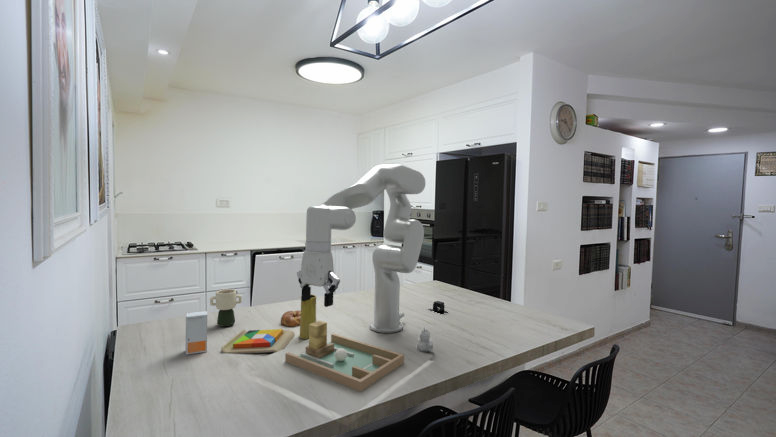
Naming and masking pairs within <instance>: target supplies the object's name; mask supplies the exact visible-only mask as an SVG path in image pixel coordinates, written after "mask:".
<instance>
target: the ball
mask: <svg viewBox="0 0 776 437" xmlns="http://www.w3.org/2000/svg"><path fill="white" fill-rule="evenodd" d="M335 358H336V360H338V361H344V360H345V359H346V358H347V352H346V350H345V349H343V348H340V349H338V350H337V351H336V352H335Z"/></svg>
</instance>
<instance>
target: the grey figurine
mask: <svg viewBox="0 0 776 437" xmlns="http://www.w3.org/2000/svg"><path fill="white" fill-rule="evenodd" d="M430 338H431V335H430V332H429V330H428V329H426V328H425V327H423V330H421V332H420V334H419V340H417V343H416V348H417V350H418V351H419V352H421V353H424V354H425V353H428V352H433V351H434V342H433V341H432V340H431V339H430Z"/></svg>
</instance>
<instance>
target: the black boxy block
mask: <svg viewBox="0 0 776 437" xmlns="http://www.w3.org/2000/svg"><path fill="white" fill-rule="evenodd" d="M432 308H433V309H431V308H429V309H428V310H430V311H429V312H432V311H434V312H433V313H435V312H437V313H436V314H438V313H440V314H439V315H441V314H444V313H448V312H449V311H448V312H447V310H445V302H443V301H440V300H436V301H433V303H432ZM428 310H427V311H428ZM448 314H449V313H448ZM444 315H445V314H444Z"/></svg>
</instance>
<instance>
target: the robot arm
mask: <svg viewBox="0 0 776 437" xmlns="http://www.w3.org/2000/svg"><path fill="white" fill-rule="evenodd" d="M425 187H426V178H425V176H424V175H423V174H422V173H421V172H420V171H419V170H416V169H413V168H411V167H408V166H406V165H403V164H400V163H393V164H392V163H391V164H379V165H376V166H374V167H373V168H372V169H370V170H369V171H368V172H367V173H366V174H364V175H363V176H362V177H361V178H360V179H359V180H358V181H357V182H356V183H355V184H352V185H351V186H348V187H347V188H344V189H343V190H340V191H339V192H336V193H334V194H333V195H330V197H328V198H327V199H326V200H324V202H322V203H321V204H320V205H319V206H316V205H314V206H313V205H312V206H309V207H308V208H307V209H306V219H305V220H306V221H305V222H306V225H305V243H304V245H305V250H304V251H303V254H302V258H301V264H300V265H301V267H300V270H299V271H297V272H296V276H297V279H298V283H299V285H300V288H301V296H302V299H301V298H300V301H301V300H302V301H306V300H310V297H311V295H312V294H311V293H312V292H311V290H312V287H311V286H314V287H321V288H322V287H323V289H324V291H325V293H324V296H323V299H324V300H323V304H324V305H323V306H324V307H325V308H328V307H331V306H333V305H334V293H335V292H336V290H337V289H338V288H339V285H340V282H341V279H340V278H339V277H338V276H337V275H336V274H335V272H334V270H335V269H334V257H333V252H332V230H336V231H346V230H350V229H351V228H352V227H354V225H355V223H356V220H357V217H356V214H355V211H354V210H353V209H357V208H363V207H365V206H368V205H370V204H372V203H373V202H374V201H375V200H376V199H377V198H378V197H379V196H380V195H381V194H382V193H383V192H384V191H386V193H387V195H388V199H389V203H390V205H389V206H390V207H389V210H388V215H387V218H386V222H385V225H384V229H383V238H384V239H385V240H386V242H387V241H388V242H390V243H394V245H393V244H381V245H378V246H377V247H375V249H374V250H373V251H372V257H371V258H372V266H373V272H374V305H373V306H374V309H373V310H374V312H373V315H374V316H373V321H372V322H370V324H369V328H370V330H372V331H374V332H376V333H383V334H392V333H393V334H394V333H397V332H400V331H402V330H403V329H404V324H403V322H401V319H402V318H405V313H404V312H400V296H401V295H400V294H401V293H400V291H401V290H400V289H401V282H400V277H399V275H398V273H401V274H410V273H413V271H414V270H415V269H416V268H417V266H418V261H419V258H420V253H421V250H422V245H423V241H424V238H425V236H424V235H425V229H424V225H423V224H422V222H421V221H419V220H418V219H416V218H415V219H414V218H411V214H412V205H411V203H410V202H411V201H410V200H409V198H408V197H407V195H419V194H421V193H423V191H424V190H425ZM395 244H401V246H399V245H395ZM402 245H403V246H402Z"/></svg>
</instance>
